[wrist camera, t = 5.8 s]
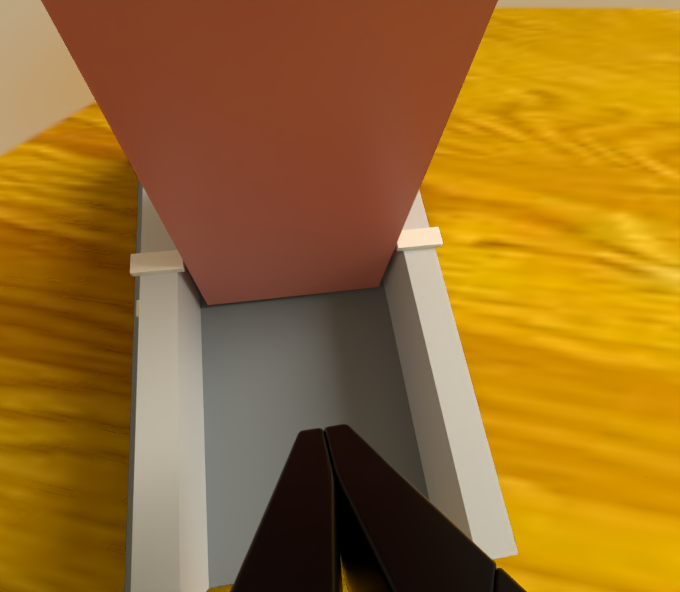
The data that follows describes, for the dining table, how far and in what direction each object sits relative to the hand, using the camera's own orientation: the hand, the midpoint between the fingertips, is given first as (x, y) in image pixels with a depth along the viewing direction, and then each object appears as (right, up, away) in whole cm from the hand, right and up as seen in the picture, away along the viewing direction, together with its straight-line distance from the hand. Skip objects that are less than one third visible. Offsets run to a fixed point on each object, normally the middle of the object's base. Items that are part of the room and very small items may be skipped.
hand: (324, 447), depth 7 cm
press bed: (-1, +2, +9) cm, 9 cm away
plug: (-2, +4, +8) cm, 9 cm away
